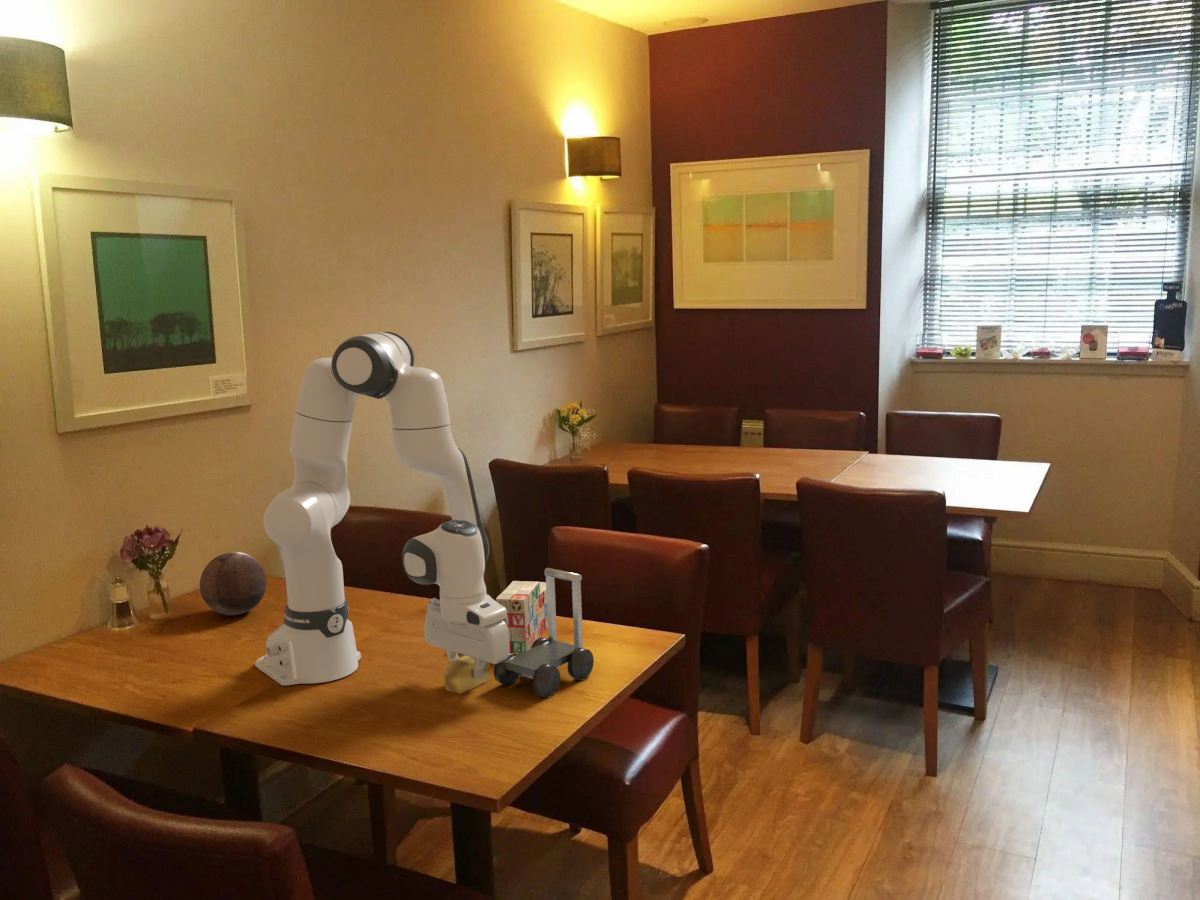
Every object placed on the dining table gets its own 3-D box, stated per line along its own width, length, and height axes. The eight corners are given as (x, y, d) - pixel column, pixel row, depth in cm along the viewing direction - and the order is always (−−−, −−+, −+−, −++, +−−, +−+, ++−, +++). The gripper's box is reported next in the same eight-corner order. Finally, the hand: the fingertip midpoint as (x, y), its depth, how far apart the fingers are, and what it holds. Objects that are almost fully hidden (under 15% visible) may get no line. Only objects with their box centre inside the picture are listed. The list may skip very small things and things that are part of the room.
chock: (445, 689, 192) (443, 664, 191) (475, 676, 198) (474, 652, 197) (459, 694, 190) (458, 669, 189) (489, 680, 196) (488, 656, 195)
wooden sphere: (281, 605, 247) (275, 545, 244) (246, 625, 232) (240, 563, 230) (226, 602, 250) (221, 544, 247) (189, 622, 236) (183, 560, 233)
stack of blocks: (527, 620, 231) (524, 568, 229) (553, 621, 229) (551, 569, 227) (497, 654, 210) (495, 597, 208) (526, 655, 209) (524, 598, 207)
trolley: (550, 661, 204) (546, 564, 201) (594, 674, 197) (590, 573, 194) (494, 687, 192) (489, 584, 189) (539, 702, 185) (534, 595, 182)
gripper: (414, 600, 195) (419, 668, 198) (489, 620, 183) (493, 692, 185) (439, 592, 200) (443, 658, 203) (513, 611, 187) (516, 681, 190)
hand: (467, 674), depth 194 cm, fingers closed on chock, 4 cm apart
